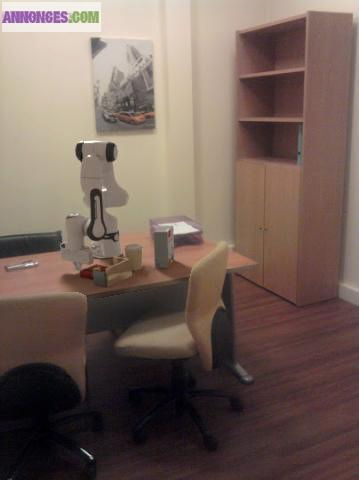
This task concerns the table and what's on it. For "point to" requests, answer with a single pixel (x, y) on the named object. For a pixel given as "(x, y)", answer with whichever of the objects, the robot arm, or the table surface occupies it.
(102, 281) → the bookend
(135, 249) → the coffee cup
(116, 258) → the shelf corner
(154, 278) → the table surface
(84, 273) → the hardcover book
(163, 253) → the hard drive box
